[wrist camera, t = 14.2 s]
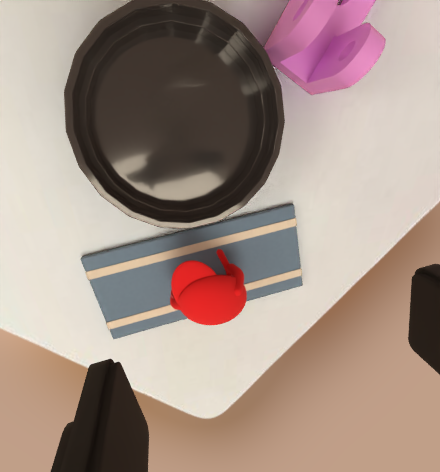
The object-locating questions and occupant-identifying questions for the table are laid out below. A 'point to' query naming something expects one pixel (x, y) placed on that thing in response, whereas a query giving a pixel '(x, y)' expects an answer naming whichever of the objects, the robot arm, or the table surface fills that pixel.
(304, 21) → the bracket
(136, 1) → the bowl
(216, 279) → the red rounded lobed piece
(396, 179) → the table surface
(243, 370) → the table surface
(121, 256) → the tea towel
